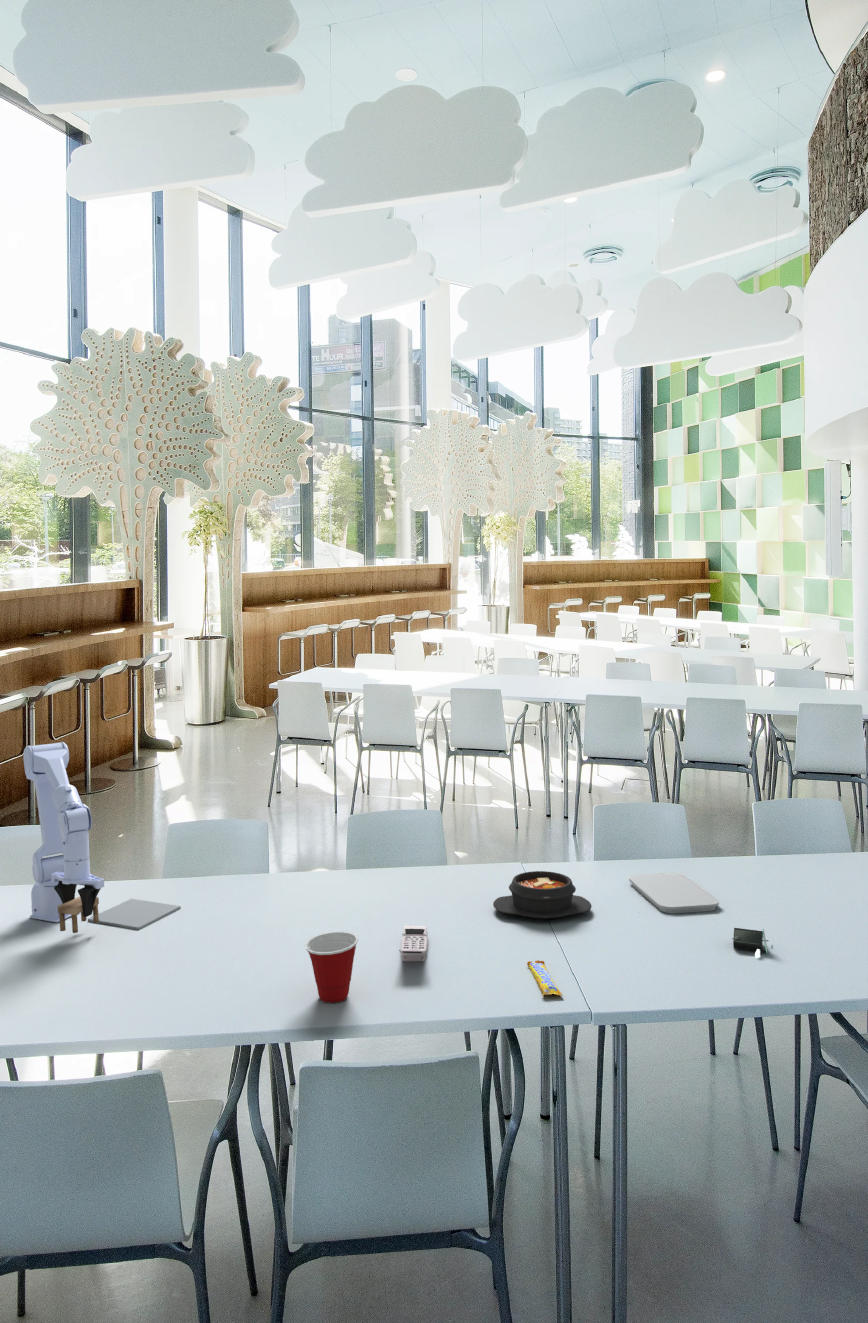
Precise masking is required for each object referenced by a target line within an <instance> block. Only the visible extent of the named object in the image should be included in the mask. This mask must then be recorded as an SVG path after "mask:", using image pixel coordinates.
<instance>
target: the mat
mask: <svg viewBox="0 0 868 1323" xmlns="http://www.w3.org/2000/svg"><path fill="white" fill-rule="evenodd" d="M180 909H181V905H176V904H169V903H163V902H155V901H150V900H149V901H148V900H144V899H136V898H129V899H128V900H126V901H123V902H121V903H119V904H117V905H115V906H111V907H110V908H109V909H106V910H103V911H102V912H98V916H99V922H98V923H97V924H102V925H109V926H114V927H119V928H125V929H132V930H138V931H140V930H141V929H143V928H145V927H148V926H149V925H151V924H153V923H155V922H157V921H159V920H161V919H163V918H164V917H167V916H169V915H170V914H173V913H175V912H176V911H178V910H180ZM87 922H89V923H90V922H91V923H94V921H93V916H92V917H91V916H90V917H88V918H87Z"/></svg>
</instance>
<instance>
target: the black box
mask: <svg viewBox="0 0 868 1323" xmlns="http://www.w3.org/2000/svg"><path fill="white" fill-rule="evenodd" d="M733 929H734V930H733V938H731V939H732V940H733V941H732V944H733V949H735V950H736V949H738V950H745V951H754V952H755V953H754V957H755V958H756V959H759V958H761V952H762V953H763V944H764V949H765V953H766V955H768V946H767V945H768V944H767V942H769V940H767V939H766V934H765V933H766V932H765V929H764V928H763V929H762V930H756V929H755V930H754V929H746V928H739V927H734V928H733ZM763 942H764V943H763ZM772 948H773V946H771V949H772Z"/></svg>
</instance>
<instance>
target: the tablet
mask: <svg viewBox="0 0 868 1323" xmlns="http://www.w3.org/2000/svg"><path fill="white" fill-rule="evenodd" d="M628 881H629V882H630V883H631V886H632V888H634V889H635V890H636V891H638V893H640V894H641V895H642V896H644V898H645V899H647V901H648V902H650V903H652V905H653V906H654V907H656V908H657V909H658V910H659V911H660V912H662V913H667V914H678V913H679V914H681V913H694V912H695V913H696V912H710V911H715V910H716V909H717V906H719V904H720V900H719V899H718V898H717V897H715V896H713V895H712V894H711V893H710V892H708V891H707V890H705V889H704V888H703V887H701V885H699V884H697V883H696V882H695V881H694V880H692V879H691V878H689V877H688V876H686V875H685V874H682V873H678V872H664V873H647V874H634V875H630V876H629V877H628Z"/></svg>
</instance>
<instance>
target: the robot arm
mask: <svg viewBox="0 0 868 1323" xmlns="http://www.w3.org/2000/svg"><path fill="white" fill-rule="evenodd" d="M69 761H70V751H69V747H68V745H67V744H66V743H65V742H64V741H60V742H54V743H47V744H46V743H45V744H36V745H26V746H25V748H24V749H23V766H24V767H23V768H24V773H25V776H26V779H28V780H29V781H33V785H34V789H35V794H36V802H37V810H38V818H39V827H40V834H41V842H42V845H41V846H40V847H39V848H38V849H36V851H34V853H33V855H32V868H31V870H32V876H33V880H34V882H35V883H34V884H33V886H32V889H31V893H30V895H31V896H30V899H31V914H30V915H29V919H34V920H35V919H36V920H40V921H46V922H52V923H60V920H59V913H58V906H59V905H61V904H64V903H66V902H68V901H71V900H73V899H75V898H76V889H77V885H78V886H84V887H82V888H79V889H77V893H78V895H79V897H80V898H81V902H82V910H83V916H84V917H87V918H88V917H89V916H90V917H91V916H93V907H94V903H95V900H96V897H98V894H99V892H100V891H101V889H102V888H104V887H105V879H104V878H102V877H99V876H96V875H94V874H92V873H91V864H90V841H89V840H90V839H89V838H90V836H89V831H90V830H91V829H92V826H93V819H92V814H91V810H90V807H89V806H87V805H86V804H85V803H82V799H81V797H80V795H79V792H78V790H77V788H76V786H74V785H72V784H70V782H69V776H68V774H67V773H68V772H67V770H66V768H67V767H68V763H69ZM58 854H59V855H58ZM69 918H72V915H70V914H65V920H66V919H69Z"/></svg>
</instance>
